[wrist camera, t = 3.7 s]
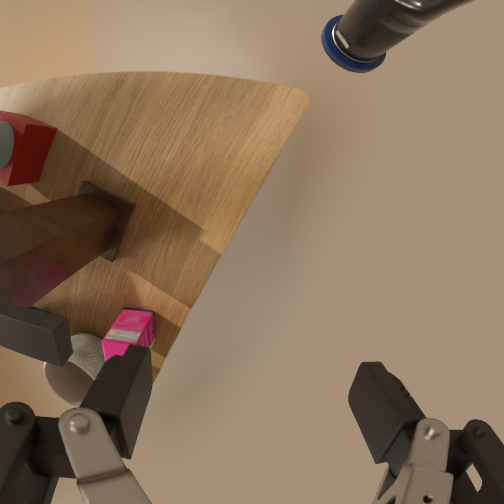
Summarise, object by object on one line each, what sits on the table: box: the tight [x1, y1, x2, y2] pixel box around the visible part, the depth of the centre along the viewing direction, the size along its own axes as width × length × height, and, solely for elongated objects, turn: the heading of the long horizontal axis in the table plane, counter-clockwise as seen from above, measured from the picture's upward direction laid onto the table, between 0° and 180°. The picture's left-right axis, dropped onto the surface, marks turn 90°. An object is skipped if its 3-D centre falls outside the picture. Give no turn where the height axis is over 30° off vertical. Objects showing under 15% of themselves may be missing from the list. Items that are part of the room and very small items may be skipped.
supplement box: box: [102, 308, 155, 361], centre depth 43 cm, size 6×6×12 cm
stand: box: [0, 181, 135, 308], centre depth 28 cm, size 10×10×32 cm
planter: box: [44, 333, 105, 408], centre depth 45 cm, size 12×12×11 cm
